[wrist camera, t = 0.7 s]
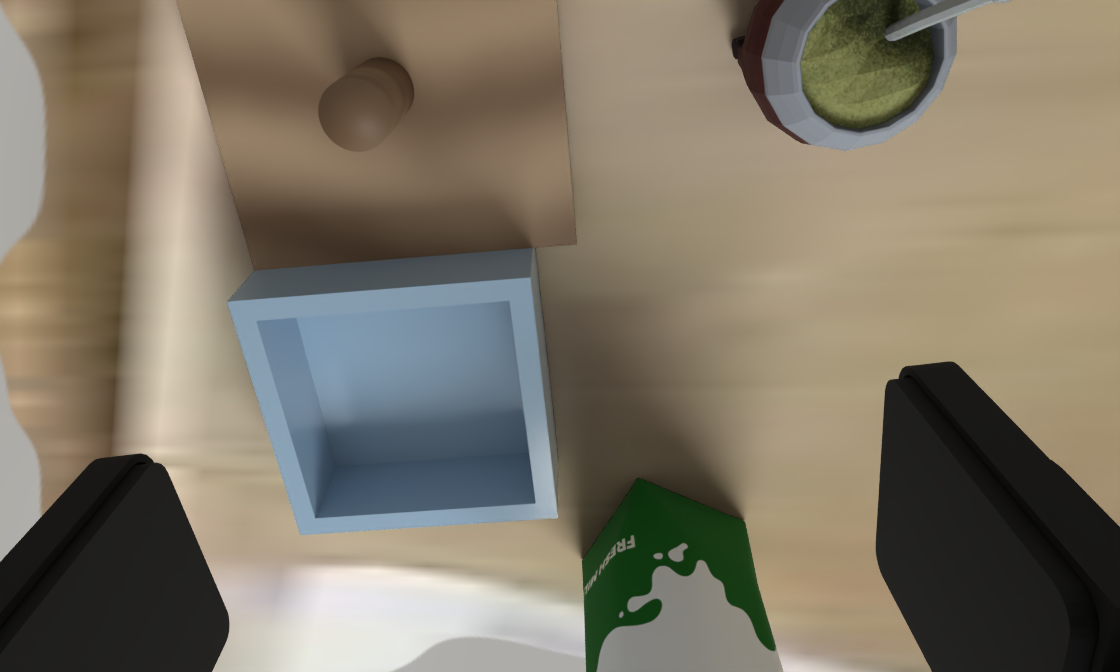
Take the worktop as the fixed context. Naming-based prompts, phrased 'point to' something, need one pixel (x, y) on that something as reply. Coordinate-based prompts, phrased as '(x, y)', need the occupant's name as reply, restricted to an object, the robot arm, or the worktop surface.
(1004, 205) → the worktop surface
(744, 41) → the mate gourd
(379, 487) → the dish
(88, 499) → the robot arm
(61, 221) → the worktop surface
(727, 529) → the milk carton
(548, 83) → the lid
